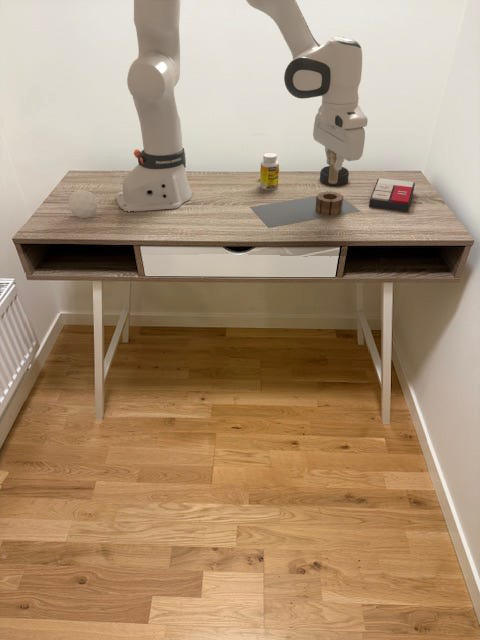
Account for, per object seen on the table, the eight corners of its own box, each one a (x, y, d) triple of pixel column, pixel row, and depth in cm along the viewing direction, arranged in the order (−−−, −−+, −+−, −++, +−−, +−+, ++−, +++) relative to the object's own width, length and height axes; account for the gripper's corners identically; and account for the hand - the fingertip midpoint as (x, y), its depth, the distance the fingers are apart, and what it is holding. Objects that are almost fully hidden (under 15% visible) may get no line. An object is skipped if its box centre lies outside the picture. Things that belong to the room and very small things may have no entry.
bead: (323, 217, 133) (324, 203, 131) (311, 207, 138) (312, 193, 136) (345, 212, 135) (347, 199, 133) (333, 203, 140) (334, 190, 138)
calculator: (369, 197, 136) (378, 175, 147) (367, 211, 139) (376, 189, 150) (410, 202, 133) (415, 180, 144) (407, 216, 136) (412, 193, 146)
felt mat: (268, 229, 129) (268, 227, 128) (249, 208, 139) (249, 207, 139) (360, 212, 136) (360, 211, 136) (336, 193, 147) (336, 192, 146)
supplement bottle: (267, 192, 148) (267, 159, 142) (256, 186, 152) (257, 154, 146) (281, 188, 150) (283, 155, 144) (271, 182, 154) (271, 150, 148)
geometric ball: (95, 225, 138) (103, 208, 132) (66, 222, 134) (73, 204, 128) (91, 204, 141) (99, 186, 135) (63, 200, 136) (70, 181, 130)
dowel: (331, 184, 131) (334, 147, 124) (326, 181, 132) (330, 144, 126) (338, 183, 131) (342, 145, 125) (334, 179, 133) (338, 143, 127)
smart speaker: (331, 189, 150) (332, 177, 147) (313, 180, 156) (314, 168, 153) (353, 183, 153) (355, 171, 151) (335, 175, 159) (336, 162, 157)
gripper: (309, 104, 128) (306, 156, 136) (348, 124, 112) (342, 181, 121) (330, 101, 129) (326, 153, 138) (371, 121, 114) (364, 178, 122)
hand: (333, 166), depth 129 cm, fingers closed on dowel, 2 cm apart
